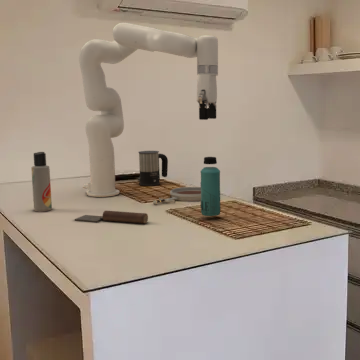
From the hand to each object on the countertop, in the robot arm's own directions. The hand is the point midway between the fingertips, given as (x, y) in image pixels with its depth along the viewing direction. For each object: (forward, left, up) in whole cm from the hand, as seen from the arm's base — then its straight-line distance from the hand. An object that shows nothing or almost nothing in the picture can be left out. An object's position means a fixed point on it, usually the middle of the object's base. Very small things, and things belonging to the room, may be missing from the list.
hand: (207, 119), depth 180 cm
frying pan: (-11, +1, -31) cm, 33 cm away
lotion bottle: (-50, -30, -31) cm, 66 cm away
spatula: (-19, -37, -31) cm, 52 cm away
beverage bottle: (+9, -25, -31) cm, 41 cm away
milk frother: (-40, +31, -31) cm, 59 cm away
